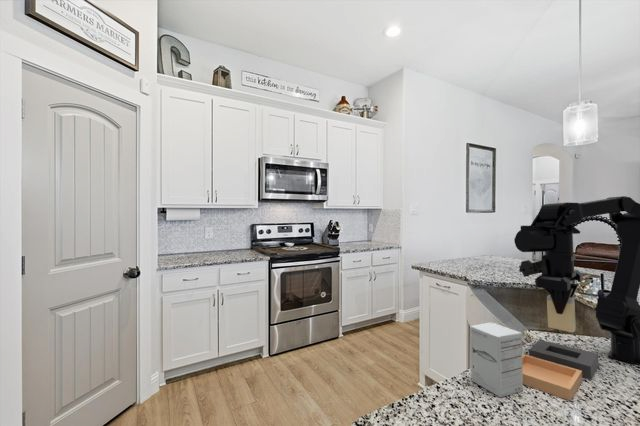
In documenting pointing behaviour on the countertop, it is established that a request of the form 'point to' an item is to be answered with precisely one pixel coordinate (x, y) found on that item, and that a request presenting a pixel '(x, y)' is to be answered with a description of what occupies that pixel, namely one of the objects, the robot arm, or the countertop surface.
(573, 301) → the block
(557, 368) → the parts tray
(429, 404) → the countertop surface
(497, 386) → the supplement box
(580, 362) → the gray rectangular frame
